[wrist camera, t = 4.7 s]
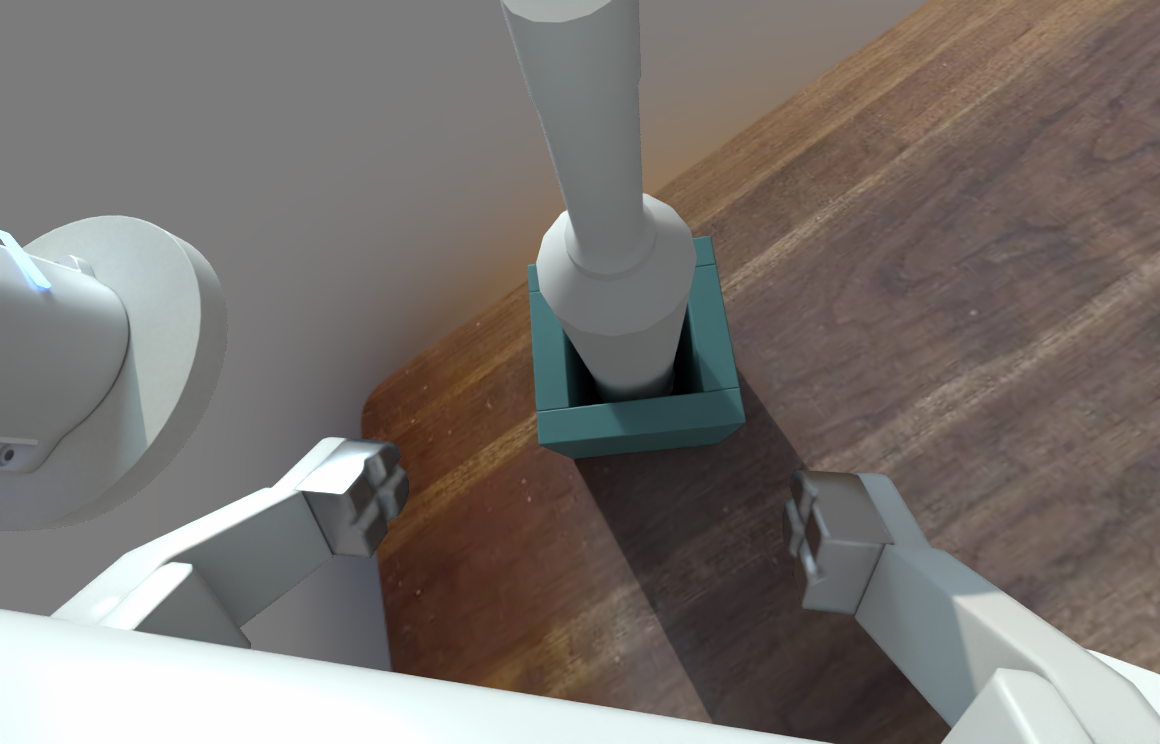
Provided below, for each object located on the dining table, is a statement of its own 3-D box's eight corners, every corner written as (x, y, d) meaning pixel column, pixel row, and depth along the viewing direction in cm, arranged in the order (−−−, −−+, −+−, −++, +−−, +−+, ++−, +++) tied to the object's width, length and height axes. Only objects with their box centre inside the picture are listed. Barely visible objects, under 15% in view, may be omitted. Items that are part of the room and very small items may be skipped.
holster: (571, 459, 30) (538, 445, 21) (560, 325, 32) (527, 264, 24) (718, 443, 28) (746, 422, 20) (694, 306, 31) (711, 235, 22)
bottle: (612, 431, 30) (444, 178, 6) (585, 361, 31) (363, -68, 7) (686, 402, 29) (830, 11, 6) (655, 332, 31) (663, -207, 7)
